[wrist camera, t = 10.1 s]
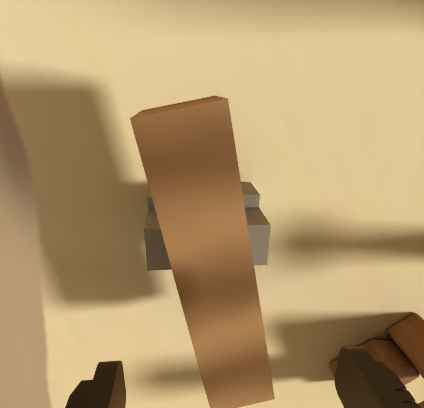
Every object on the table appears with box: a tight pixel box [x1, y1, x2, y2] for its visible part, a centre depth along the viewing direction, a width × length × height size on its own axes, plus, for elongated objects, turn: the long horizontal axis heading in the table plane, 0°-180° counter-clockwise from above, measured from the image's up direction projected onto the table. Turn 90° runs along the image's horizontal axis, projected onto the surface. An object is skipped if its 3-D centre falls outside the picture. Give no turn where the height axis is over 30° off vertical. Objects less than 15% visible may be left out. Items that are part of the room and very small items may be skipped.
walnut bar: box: [130, 96, 275, 408], centre depth 18 cm, size 18×4×4 cm, turn 10°
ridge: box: [144, 183, 270, 271], centre depth 23 cm, size 5×8×6 cm, turn 89°
